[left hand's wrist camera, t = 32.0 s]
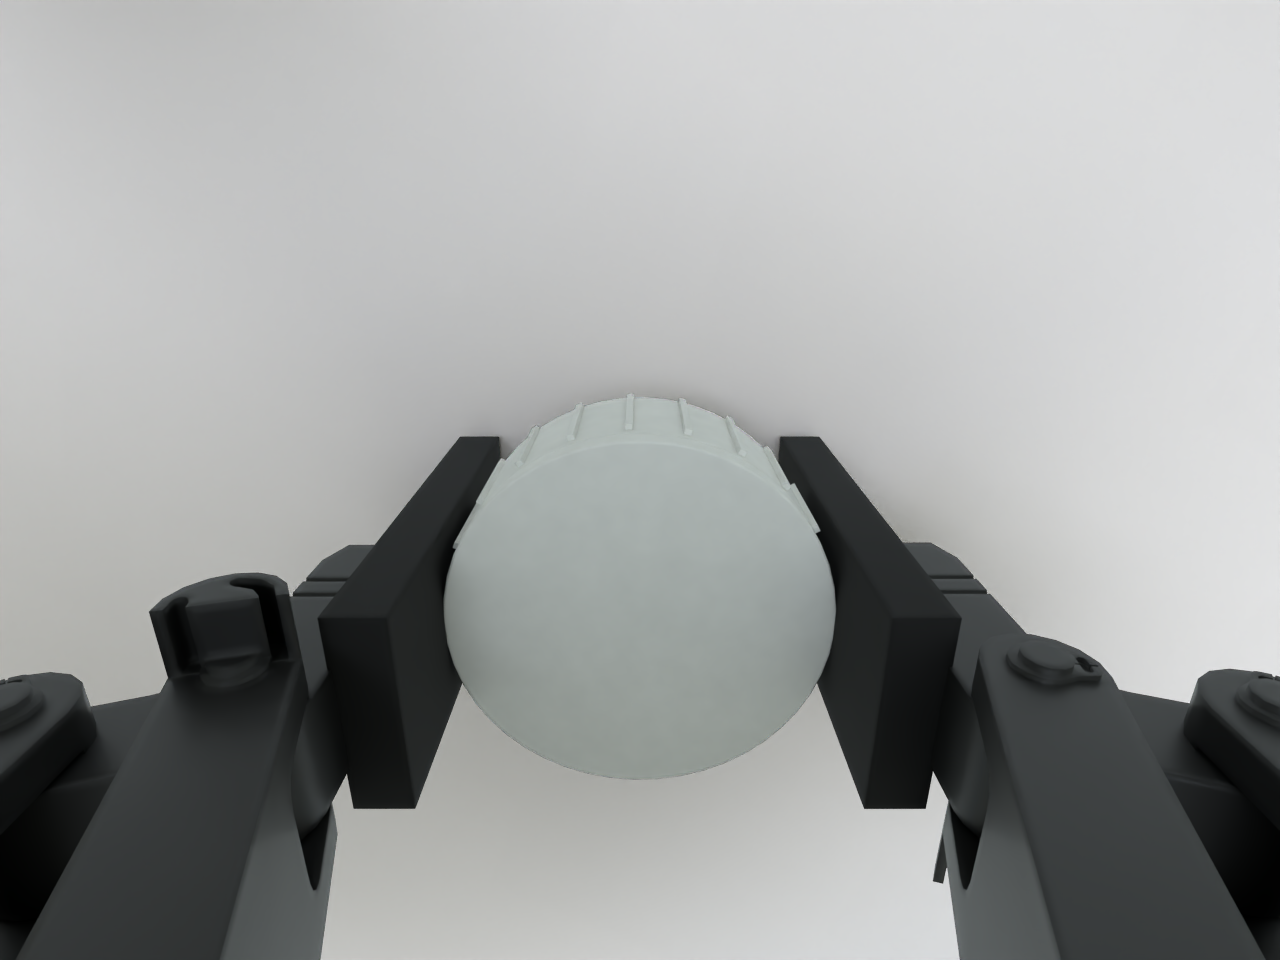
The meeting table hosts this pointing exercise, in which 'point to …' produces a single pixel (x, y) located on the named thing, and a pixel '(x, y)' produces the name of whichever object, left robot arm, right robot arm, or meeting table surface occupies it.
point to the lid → (639, 592)
